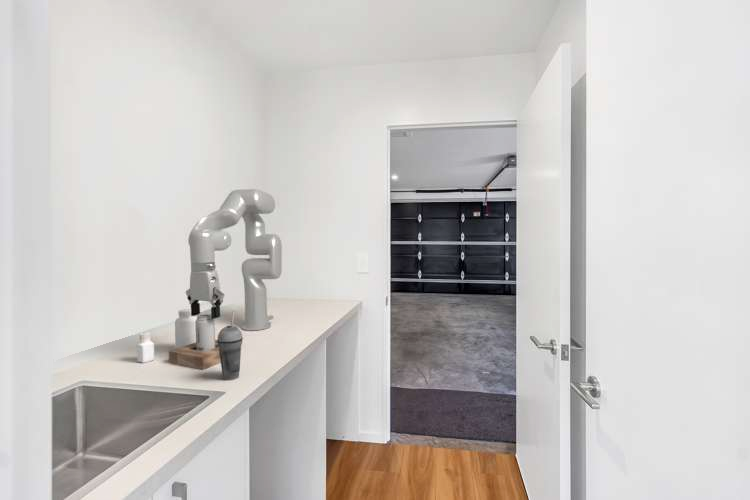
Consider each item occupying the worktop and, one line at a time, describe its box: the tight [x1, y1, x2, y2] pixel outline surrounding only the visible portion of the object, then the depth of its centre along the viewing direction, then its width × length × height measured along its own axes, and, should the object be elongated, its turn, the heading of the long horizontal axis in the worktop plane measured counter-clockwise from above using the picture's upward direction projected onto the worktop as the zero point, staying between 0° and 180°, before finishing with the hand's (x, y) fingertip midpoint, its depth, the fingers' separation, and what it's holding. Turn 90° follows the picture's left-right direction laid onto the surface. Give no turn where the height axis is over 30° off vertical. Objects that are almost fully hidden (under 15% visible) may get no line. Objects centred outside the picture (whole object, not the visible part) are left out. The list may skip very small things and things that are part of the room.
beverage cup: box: [216, 310, 244, 381], centre depth 114 cm, size 7×7×20 cm
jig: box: [168, 339, 221, 371], centre depth 131 cm, size 16×16×4 cm
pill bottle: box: [174, 308, 197, 349], centre depth 141 cm, size 8×8×15 cm
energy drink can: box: [195, 313, 216, 352], centre depth 131 cm, size 6×6×15 cm
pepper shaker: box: [136, 331, 155, 364], centre depth 129 cm, size 4×4×10 cm
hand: (205, 316), depth 131 cm, fingers open, 9 cm apart
